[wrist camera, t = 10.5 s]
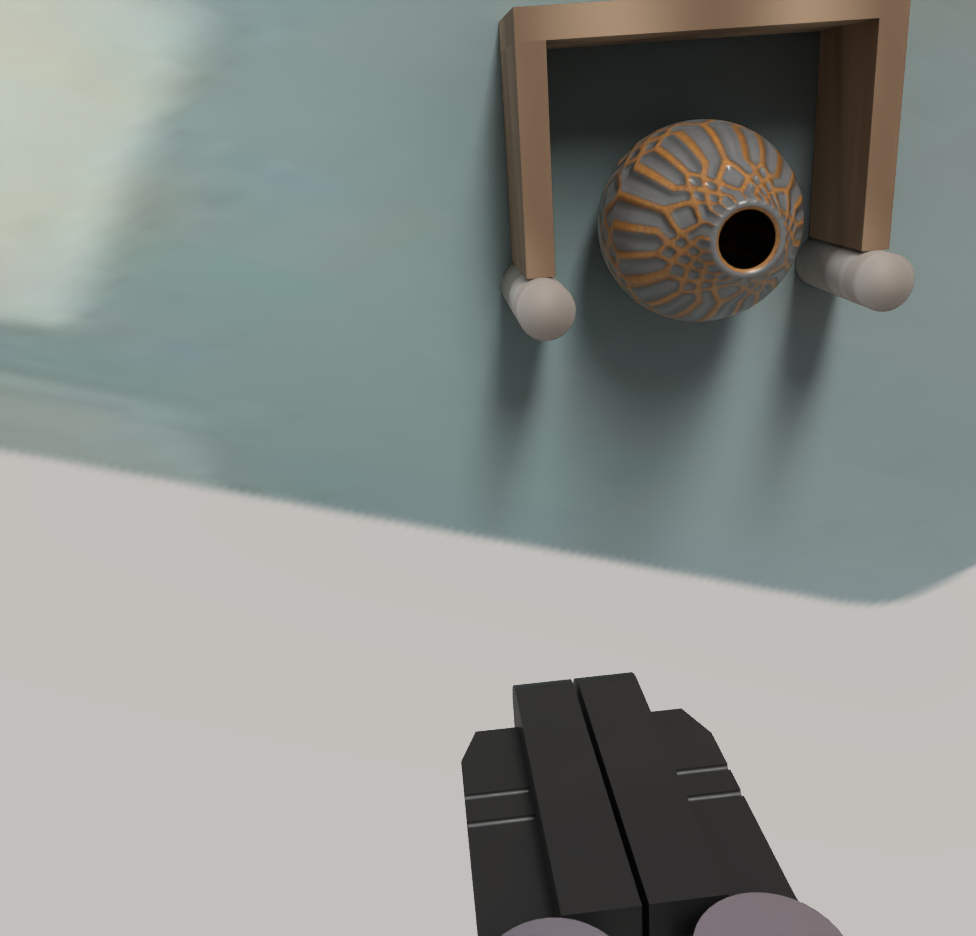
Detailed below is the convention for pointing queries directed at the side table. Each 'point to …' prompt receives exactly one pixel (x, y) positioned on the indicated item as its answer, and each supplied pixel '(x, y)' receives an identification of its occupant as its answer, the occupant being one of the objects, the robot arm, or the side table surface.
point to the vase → (700, 220)
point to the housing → (837, 146)
